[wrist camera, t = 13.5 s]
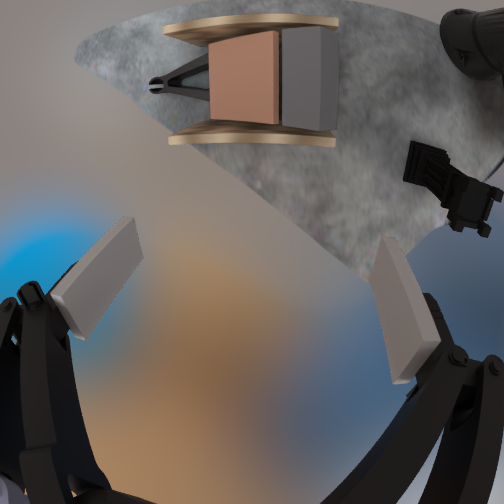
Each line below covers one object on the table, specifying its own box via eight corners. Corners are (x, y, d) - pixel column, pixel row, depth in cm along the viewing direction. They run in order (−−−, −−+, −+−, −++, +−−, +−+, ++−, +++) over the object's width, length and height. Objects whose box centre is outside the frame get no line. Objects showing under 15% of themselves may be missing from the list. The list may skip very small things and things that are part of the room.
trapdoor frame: (324, 39, 33) (338, 18, 21) (322, 130, 43) (335, 147, 30) (200, 41, 36) (162, 26, 23) (203, 127, 45) (169, 145, 33)
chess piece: (435, 187, 44) (488, 240, 27) (402, 180, 45) (450, 232, 28) (444, 150, 39) (506, 190, 23) (410, 140, 40) (468, 175, 24)
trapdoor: (339, 34, 22) (320, 25, 19) (336, 129, 28) (319, 131, 26) (229, 45, 32) (208, 44, 30) (231, 116, 39) (210, 118, 37)
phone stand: (226, 53, 37) (162, 63, 39) (217, 49, 32) (146, 62, 34) (229, 101, 42) (166, 108, 44) (220, 103, 37) (151, 112, 39)
